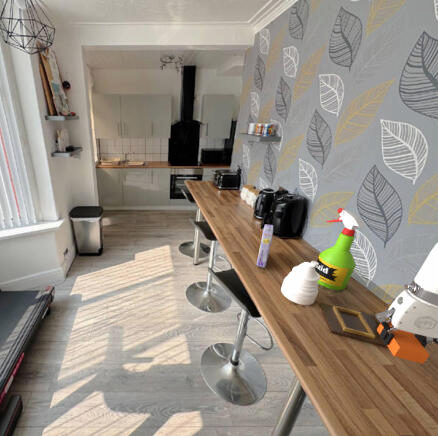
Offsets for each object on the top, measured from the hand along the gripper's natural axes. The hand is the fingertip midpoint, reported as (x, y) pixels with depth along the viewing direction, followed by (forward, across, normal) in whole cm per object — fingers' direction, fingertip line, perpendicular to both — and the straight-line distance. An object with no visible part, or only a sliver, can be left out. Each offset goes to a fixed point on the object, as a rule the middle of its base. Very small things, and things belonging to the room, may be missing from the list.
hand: (399, 344), depth 65 cm
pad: (+1, 0, 0) cm, 1 cm away
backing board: (+15, +1, +22) cm, 26 cm away
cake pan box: (+15, -28, +58) cm, 66 cm away
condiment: (+16, +14, +26) cm, 34 cm away
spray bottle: (+15, 0, +52) cm, 54 cm away
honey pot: (+15, -15, +33) cm, 39 cm away
